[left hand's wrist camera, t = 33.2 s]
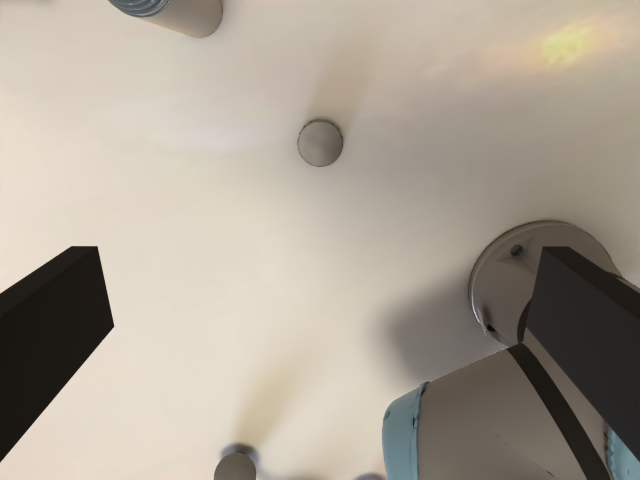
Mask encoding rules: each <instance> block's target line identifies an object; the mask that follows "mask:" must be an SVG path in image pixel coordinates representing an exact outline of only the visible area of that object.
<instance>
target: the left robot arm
mask: <svg viewBox="0 0 640 480" xmlns="http://www.w3.org/2000/svg"><path fill="white" fill-rule="evenodd" d="M468 295H469V302H470V306H471V309H472V311H473V313H474V315H475V316H476V318H477V320H478V321H479V323H480V324H481V325H482V329H483V332H484V334H485V335H486V331H487V332H488V333H489V334H490V335H491V336H492V337H494V338H495V339H496V340H498V341H499V342H501V343H503V344H504V345H506V346H508V347H510V348H507V349H504V350H502V351H500V352H498V353H495V354H493V355H491V356H489V357H486V358H484V359H482V360H480V361H477V362H475V363H473V364H471V365H468V366H466V367H464V368H462V369H459V370H457V371H455V372H453V373H450V374H448V375H446V376H444V377H441V378H439V379H437V380H435V381H432V382H429V381H427V382H424V383H423V384H421V386H420V387H419V388H417V389H415V390H413V391H411V392H409V393H407V394H406V395H404V396H402V397H400V398H398V399H396V400H394V401H393V402H392V403H391V404H390V405H389V407H388V408H387V410H386V412H385V415H384V419H383V427H382V446H383V455H384V462H385V468H386V473H387V478H388V480H640V288H638V287H637V286H635V285H633V284H632V283H630V282H629V281H627V280H625V279H624V278H623V277H622V275H621V274H620V272H619V271H618V269H617V268H616V266H615V265H614V263H613V261H612V260H611V258H610V256H609V254H608V252H607V251H606V249H605V248H604V247H603V246H602V245H601V244H600V243H599V242H598V241H597V240H596V239H595V238H594V237H592V236H591V235H589V234H588V233H586V232H584V231H583V230H581V229H579V228H577V227H575V226H573V225H570V224H567V223H563V222H557V221H541V222H534V223H529V224H526V225H522V226H520V227H517V228H515V229H513V230H511V231H509V232H507V233H505V234H504V235H502V236H501V237H499V238H498V239H497V240H495V241H494V242H493V243H492V244H491V245H490V246H489V247H488V248H487V249H486V250H485V251H484V252H483V254H482V255H481V256H480V258H479V259H478V261H477V263H476V264H475V266H474V269H473V271H472V274H471V277H470V281H469V288H468ZM113 327H114V323H113V318H112V313H111V308H110V304H109V299H108V294H107V289H106V285H105V280H104V275H103V271H102V266H101V261H100V256H99V252H98V247H97V246H71V247H70V248H68V249H67V250H65V251H64V252H62V253H61V254H59V255H58V256H56V257H55V258H53V259H52V260H50V261H49V262H47V263H46V264H44V265H43V266H41V267H40V268H38V269H37V270H35V271H34V272H32V273H31V274H29V275H28V276H26V277H25V278H23V279H21V280H20V281H18V282H17V283H15V284H14V285H12V286H11V287H9V288H8V289H6V290H5V291H3V292H2V293H0V462H1V461H2V460H3V459H4V457H5V456H6V455H7V454H8V453H9V451H10V450H11V449H12V448H13V447H14V445H15V444H16V443H17V442H18V441H19V440H20V438H21V437H22V436H23V435H24V434H25V432H26V431H27V430H28V429H29V428H30V426H31V425H32V424H33V423H34V422H35V420H36V419H37V418H38V417H39V416H40V414H41V413H42V412H43V411H44V410H45V408H46V407H47V406H48V405H49V404H50V403H51V401H52V400H53V399H54V398H55V397H56V395H57V394H58V393H59V392H60V391H61V389H62V388H63V387H64V386H65V385H66V383H67V382H68V381H69V380H70V379H71V377H72V376H73V375H74V374H75V373H76V372H77V370H78V369H79V368H80V367H81V366H82V364H83V363H84V362H85V361H86V360H87V358H88V357H89V356H90V355H91V354H92V352H93V351H94V350H95V349H96V348H97V346H98V345H99V344H100V343H101V342H102V340H103V339H104V338H105V337H106V336H107V335H108V333H109V332H110V331H111V330H112V329H113ZM485 330H486V331H485ZM486 337H487V335H486Z"/></svg>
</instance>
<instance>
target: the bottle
mask: <svg viewBox="0 0 640 480" xmlns="http://www.w3.org/2000/svg"><path fill="white" fill-rule="evenodd" d="M108 1H109V2H110V3H111V4H112V5H114V6H115V7H116V8H118V9H119V10H120V11H122V12H123V13H125V14H127V15H130V16H133V17H136V18H139V19H141V20H144V21H147V22H150V23H153V24H156V25H159V26H162V27H165V28H168V29H170V30H173V31H176V32H179V33H182V34H185V35H188V36H191V37H195V38H202V37H206V36H208V35H210V34H212V33H213V32H214V31H215V30H216V29H217V27H218V26H219V24H220V21H221V18H222V3H221V0H108Z"/></svg>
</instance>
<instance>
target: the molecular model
mask: <svg viewBox="0 0 640 480" xmlns="http://www.w3.org/2000/svg"><path fill="white" fill-rule="evenodd" d="M214 480H256V469H255V465H254V463H253V461H252V460H251V459H250V458H249V457H248V456H247V455H245V454H242V453H232V454H229V455H227V456H226V457H224V458H223V459H222V460H221V461H220V462H219V464H218V465H217V467H216V470H215V473H214Z"/></svg>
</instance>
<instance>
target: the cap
mask: <svg viewBox="0 0 640 480" xmlns="http://www.w3.org/2000/svg"><path fill="white" fill-rule="evenodd" d="M297 142H298V150H299V153H300V155H301V156H302V158H303V159H304V160H305V161H306V162H307V163H309V164H311V165H313V166H318V167H323V166H327V165H330V164H332V163H333V162H334V161H336V159H337V158H338V157H339V155H340V154H341V151H342V146H343V142H342V136H341V134H340V132H339V129H337V127H336V126H335V125H334V124H333V123H331V122H329V121H327V120H319V119H318V120H314V121H312V122H311V121H310V123H308V124H307V125H306V126H304V128H303V129H302V131H301V132H300V135H299V139H298V141H297Z"/></svg>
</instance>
